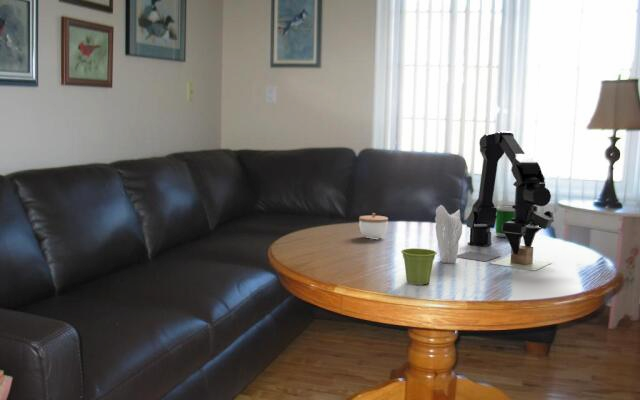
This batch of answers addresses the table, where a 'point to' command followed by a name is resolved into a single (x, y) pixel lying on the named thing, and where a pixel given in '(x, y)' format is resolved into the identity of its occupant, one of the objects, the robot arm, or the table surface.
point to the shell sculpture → (448, 234)
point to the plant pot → (418, 265)
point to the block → (522, 256)
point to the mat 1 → (477, 256)
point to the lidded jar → (373, 225)
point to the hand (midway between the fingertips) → (522, 252)
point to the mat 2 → (532, 266)
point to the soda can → (503, 218)
